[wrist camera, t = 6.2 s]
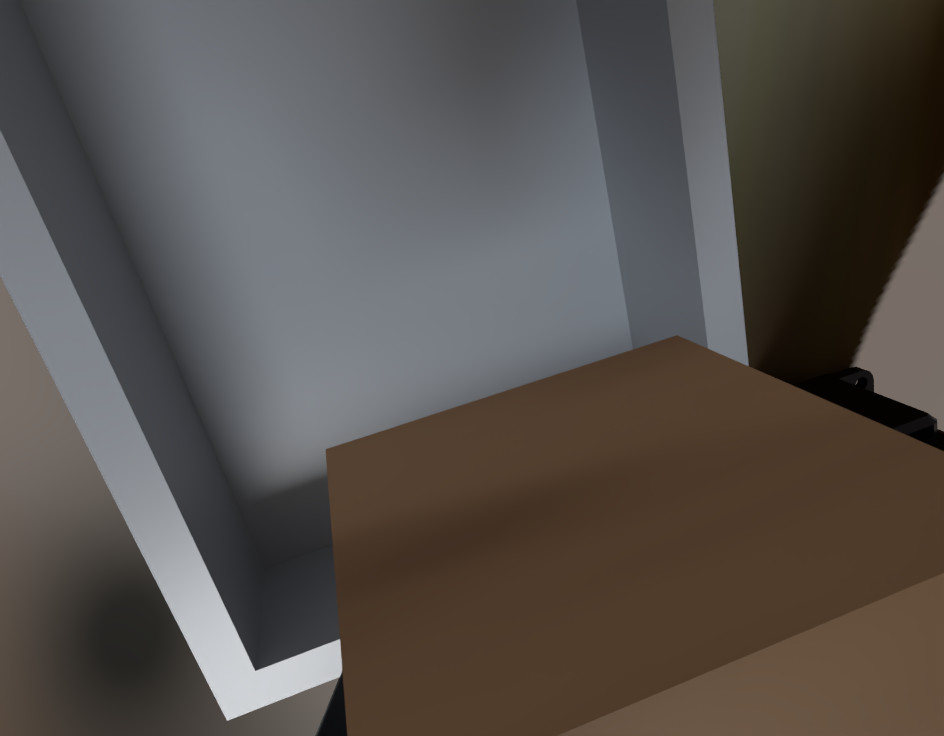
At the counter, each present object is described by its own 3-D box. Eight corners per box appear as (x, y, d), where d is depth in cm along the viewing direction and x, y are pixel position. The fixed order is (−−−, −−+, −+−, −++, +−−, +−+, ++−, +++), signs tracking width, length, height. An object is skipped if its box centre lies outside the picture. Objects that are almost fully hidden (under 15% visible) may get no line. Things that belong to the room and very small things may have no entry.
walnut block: (713, 615, 11) (1033, 961, 6) (426, 731, 10) (535, 1236, 5) (676, 334, 9) (1085, 514, 4) (325, 449, 8) (355, 821, 3)
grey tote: (663, 438, 21) (762, 512, 17) (245, 587, 19) (226, 720, 14) (526, -449, 14) (638, -764, 9) (-186, -369, 12) (-511, -728, 7)
